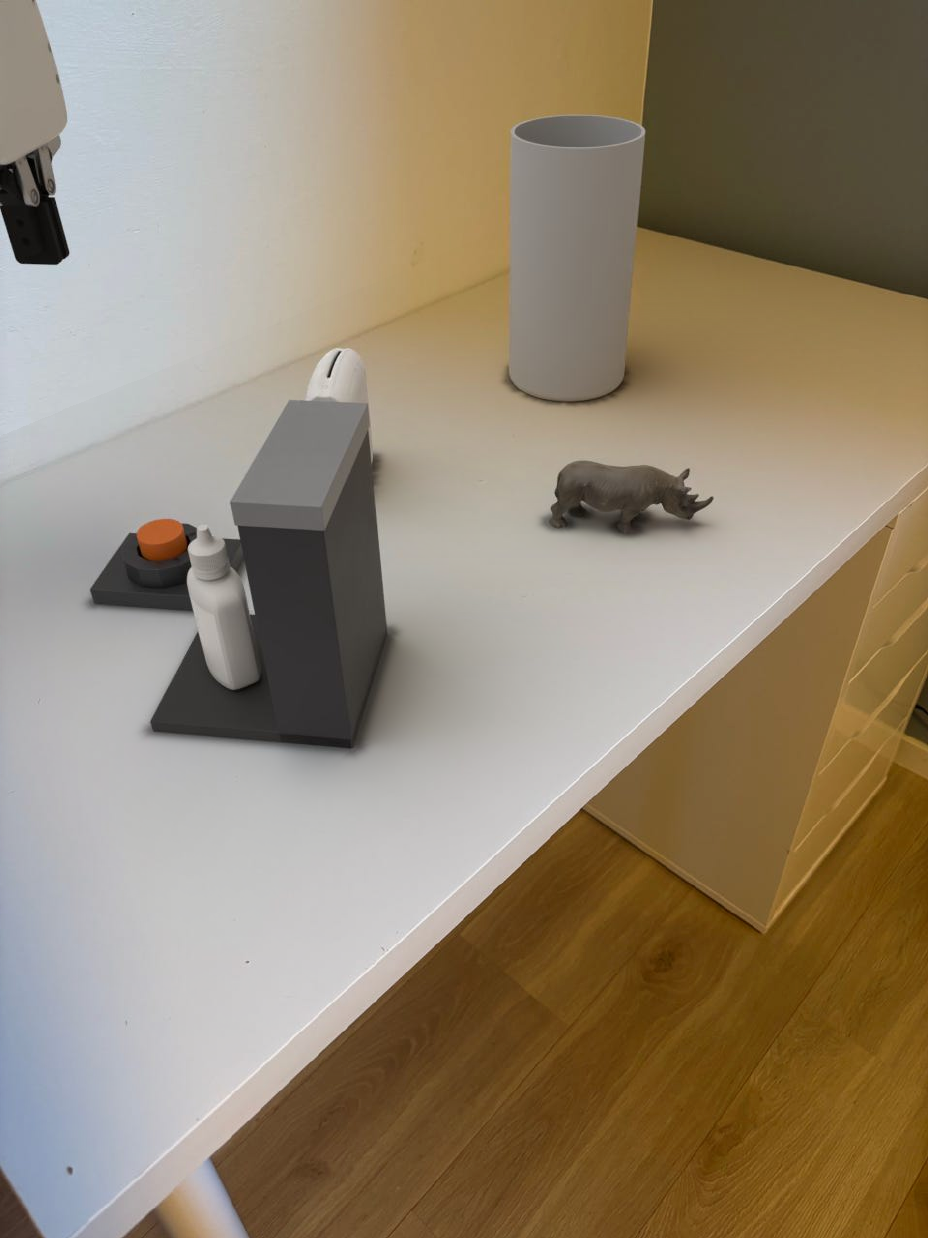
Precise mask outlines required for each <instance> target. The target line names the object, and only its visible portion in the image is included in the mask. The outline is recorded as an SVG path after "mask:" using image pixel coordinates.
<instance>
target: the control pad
mask: <svg viewBox="0 0 928 1238" xmlns="http://www.w3.org/2000/svg"><path fill="white" fill-rule="evenodd" d="M180 523H181V522H180ZM181 524H182V526H183V529H184V533H185V537H186V541H187V549H186V551H185V552H184V553H182V554H181V555H179V556H177V557H176V558H172V559H168V560H164V561H150V560H147V559H145V558H144V557H143V555H142V553H141V550H140V546H139V542H138V539H137V532H128V534H126V536H125V538H124V540H123V541H122V542H121V544H119V545H120V546H118V548H117V550H116V551H115V553H114V554H113V555H112V557H111V558H110V560H109V561H108V562H107V564H106V566H105V567H104V569H102V571H101V573H100V574H99V575H98V577H96V580H95V581H94V583H93V584H92V586H91V587H90V588H89V592H90V595H91V598H92V601H93V604H94V605H103V606H117V607H130V608H145V609H158V610H159V609H160V610H174V611H189V612H194V611H193V607H192V603H191V599H190V595H189V591H188V586H187V575H188V572H189V569H190V568H191V567H192V565H191V561H190V557H189V553H188V546H189V544H190V543H191V542H192V541H193V540H195V539H197V527H196V526H194V525H192V524H190V523H183V522H182V523H181ZM221 538H222V537H221ZM222 539H223V540H224V541H225V544H226V548H227V553H228V558H229V563H230V566H231V567H232V568H233V569H234V570H235V571H236V572H238V569H239V567H240V565H241V563H242V562H243V561H244V557H243V552H242V547H241V542H240V538H224V537H223V538H222Z"/></svg>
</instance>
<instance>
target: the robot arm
mask: <svg viewBox="0 0 928 1238" xmlns="http://www.w3.org/2000/svg"><path fill="white" fill-rule="evenodd" d="M46 30H47V29H46V26H45V24H44V20H43V18H42V14H41V10H40V8H39V5H38V2H37V0H0V213H1V217H2V219H3V223H4V226H5V229H6V232H7V233H6V234H7V236H8V239H9V242H10V246H11V249H12V252H13V256H14V258H15V261H16V262H17V263H19V264H20V265H41V266H42V265H43V266H58V265H60V263H62V261H63V260H66V259H67V258H68V257H69V256H70V248H69V244H68V241H67V237H66V233H65V230H64V226H63V222H62V219H61V216H60V212H59V208H58V204H57V201H56V197H55V195H56V193H57V185H56V179H55V174H54V169H53V165H52V163H53V159H54V156H55V155H56V154H57V152H58V151H59V149H60V148H61V145H62V140H61V136H60V135H61V133H62V132H63V131H64V129H65V128H66V127H67V124H68V112H67V106H66V101H65V96H64V92H63V88H62V84H61V79H60V76H59V72H58V68H57V65H56V60H55V57H54V53H53V50H52V46H51V43H50V41H49V36H48V33H47V31H46Z"/></svg>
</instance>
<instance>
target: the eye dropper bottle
mask: <svg viewBox="0 0 928 1238" xmlns="http://www.w3.org/2000/svg"><path fill="white" fill-rule="evenodd" d="M196 528H197V539H195V540H193V541H192V542H191V543H190V544H189V546H188V553H189V557H190V561H191V565H192V567H191V568H190V569H189V572H188V575H187V586H188V591H189V595H190V599H191V603H192V607H193V611H192V612H193V615H194V619H195V623H196V628H197V632H199V636H200V640H201V644H202V648H203V652H204V656H205V660H206V664H207V666H208V669H209V671H210V673H211V674H212V676H213V677H214V678H215V679H216V680H217V681H218V682H219V683H220V684H222V685H223V686H225V687H227V688H229V689H231V690H237V689H240V688H243V687H246V686H248V685H251V684H253V683H255V682H257V681H259V679H260V677H261V667H260V662H259V657H258V652H257V647H256V642H255V637H254V632H253V627H252V622H251V617H250V614H251V613H250V609H249V608H250V607H249V603H248V599H247V598H248V597H247V594H246V590H245V585H244V583H243V580H242V578H241V576H240V575H239V574H238V571H235V570H234V569H233V568H232V567H231V566H230V563H229V558H228V553H227V548H226V544H225V541H224V540H223V539H222V537H220V536H218V535H213V534H212V532H211V530H210V528H209V526H208V525H207V524H200V525H198V526H197V527H196Z"/></svg>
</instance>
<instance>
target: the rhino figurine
mask: <svg viewBox="0 0 928 1238" xmlns="http://www.w3.org/2000/svg"><path fill="white" fill-rule="evenodd" d="M690 472H691V469H690V467H688V468H686V469H684V470H683V471H682V472H681V473H680V474H679V475H678V476H674V475H673V474H670V473H669V472H667V471H665V470H662V469H661V468H658V467H655V466H652V465H647V464H639V465H628V466H619V465H618V466H617V465H610V464H609V465H608V464H603V463H600V462H596V461H592V460H583V459H581V460H575V461H573V462H570V463H568V464H567V465H565V466H564V467H563V468H562V469H561V470H560V471H559V472H558V473H557V477H556V487H555V489H554V492H553V493H554V496H555V498H556V502H554V503H553V504H551V505H550V508H549V510H550V511H551V518H549V520H548V524H549V525H550V526H551V527H553V528H554V529H561V528H566V527H568V524H567V520H566V519H565V517H564V516H563V515H564V514H565V513H566V512H567V514H568V515H570V516H575V517H576V516H577V517H582V516H585V515H586V513H587V512H588V511H587V509H586V508H585V507H583V506H582V503H581V502H583V503H585V504H586V505H588V506H589V507H591V508H593V509H594V510H596V511H598V512H602V513H611V512H615V511H621V513H620V515H619V521H618V523H616V528H617V530H618V531H619V532H620V533H621V534H623V535H628V534H633V533H634V532H635V528H633V525H632V524H631V521H635V522H636V521H640V520H642V519H643V518H642V517H643V514H642V512H644V511H645V510H647V509H648V508H649V507H651V506H652V505H656V506H657V505H660V504H661V505H662V507H663V508H662V509H663V510H664V511H665V512H666V513H667V514H669V515H672V516H675V517H678V518H680V519H683V520H687V521H690V520H692V519H693V518H694V515H695V514H696V513H698V512H700V511H701V510H703V509H705V508H706V507H708V506H709V505H711V503H712V502H713V501H714V499H715V498H714V497H715V496H713V495H712V496H710V497H709V498H707V499H705V500H699V501H698V500H697V499H698V498H699V496H700V494H698V493H695V494H688V493H689V492H691V491H692V487H689V486H686V485H685V480H687V479H688V478H689V476H690ZM696 500H697V501H696Z"/></svg>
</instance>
